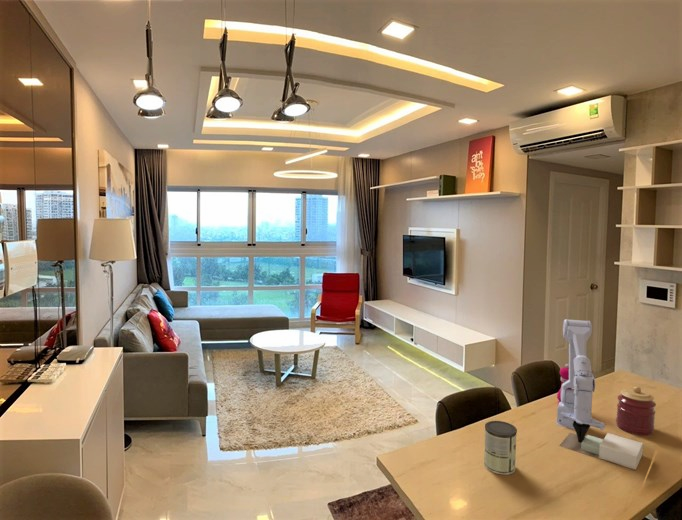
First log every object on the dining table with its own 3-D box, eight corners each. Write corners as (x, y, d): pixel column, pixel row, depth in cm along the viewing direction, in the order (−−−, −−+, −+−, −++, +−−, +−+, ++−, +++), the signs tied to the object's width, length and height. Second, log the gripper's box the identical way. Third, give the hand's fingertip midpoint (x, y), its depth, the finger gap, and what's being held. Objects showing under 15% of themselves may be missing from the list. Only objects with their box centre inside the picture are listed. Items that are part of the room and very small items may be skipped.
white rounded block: (598, 457, 155) (599, 445, 155) (607, 444, 164) (607, 432, 164) (635, 469, 148) (636, 456, 147) (642, 455, 157) (642, 443, 156)
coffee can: (482, 457, 156) (483, 419, 155) (512, 460, 154) (513, 422, 153) (485, 473, 146) (486, 432, 145) (518, 476, 144) (519, 436, 143)
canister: (653, 439, 169) (656, 395, 168) (614, 429, 177) (616, 387, 175) (654, 427, 180) (657, 385, 178) (617, 418, 187) (619, 378, 186)
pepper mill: (573, 405, 200) (576, 362, 199) (574, 411, 194) (577, 367, 192) (556, 402, 204) (558, 360, 202) (556, 408, 197) (558, 365, 195)
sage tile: (581, 449, 161) (581, 443, 161) (587, 440, 167) (587, 434, 167) (615, 460, 153) (616, 454, 153) (620, 451, 160) (621, 444, 159)
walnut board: (559, 447, 163) (559, 445, 163) (570, 433, 174) (570, 432, 174) (635, 472, 147) (635, 470, 147) (642, 455, 157) (642, 454, 157)
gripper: (558, 404, 165) (557, 438, 167) (602, 416, 155) (600, 452, 157) (564, 399, 170) (562, 432, 172) (606, 410, 161) (604, 445, 162)
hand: (581, 441), depth 165 cm, fingers closed
